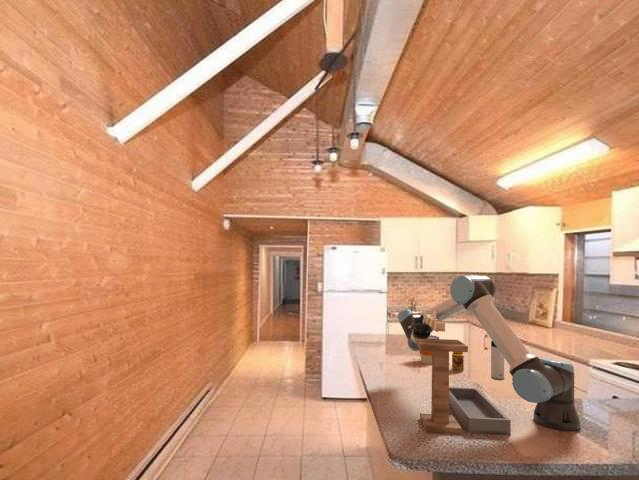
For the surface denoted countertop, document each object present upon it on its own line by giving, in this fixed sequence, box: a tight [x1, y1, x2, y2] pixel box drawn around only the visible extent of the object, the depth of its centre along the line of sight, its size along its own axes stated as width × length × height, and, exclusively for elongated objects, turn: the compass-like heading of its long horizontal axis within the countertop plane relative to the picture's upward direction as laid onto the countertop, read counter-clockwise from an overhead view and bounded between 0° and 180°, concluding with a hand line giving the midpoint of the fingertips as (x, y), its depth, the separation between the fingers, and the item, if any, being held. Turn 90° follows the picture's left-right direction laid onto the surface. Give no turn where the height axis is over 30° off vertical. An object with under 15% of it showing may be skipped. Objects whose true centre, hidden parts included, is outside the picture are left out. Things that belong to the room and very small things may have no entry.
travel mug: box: [490, 340, 505, 381], centre depth 205 cm, size 6×7×20 cm
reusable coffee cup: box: [418, 334, 440, 365], centre depth 237 cm, size 13×13×15 cm
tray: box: [449, 386, 512, 436], centre depth 154 cm, size 35×14×5 cm, turn 176°
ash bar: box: [425, 314, 446, 332], centre depth 157 cm, size 26×3×3 cm, turn 176°
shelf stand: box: [415, 338, 469, 435], centre depth 143 cm, size 12×16×30 cm
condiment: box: [449, 352, 467, 373], centre depth 220 cm, size 7×8×12 cm
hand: (430, 313), depth 161 cm, fingers closed on ash bar, 3 cm apart
